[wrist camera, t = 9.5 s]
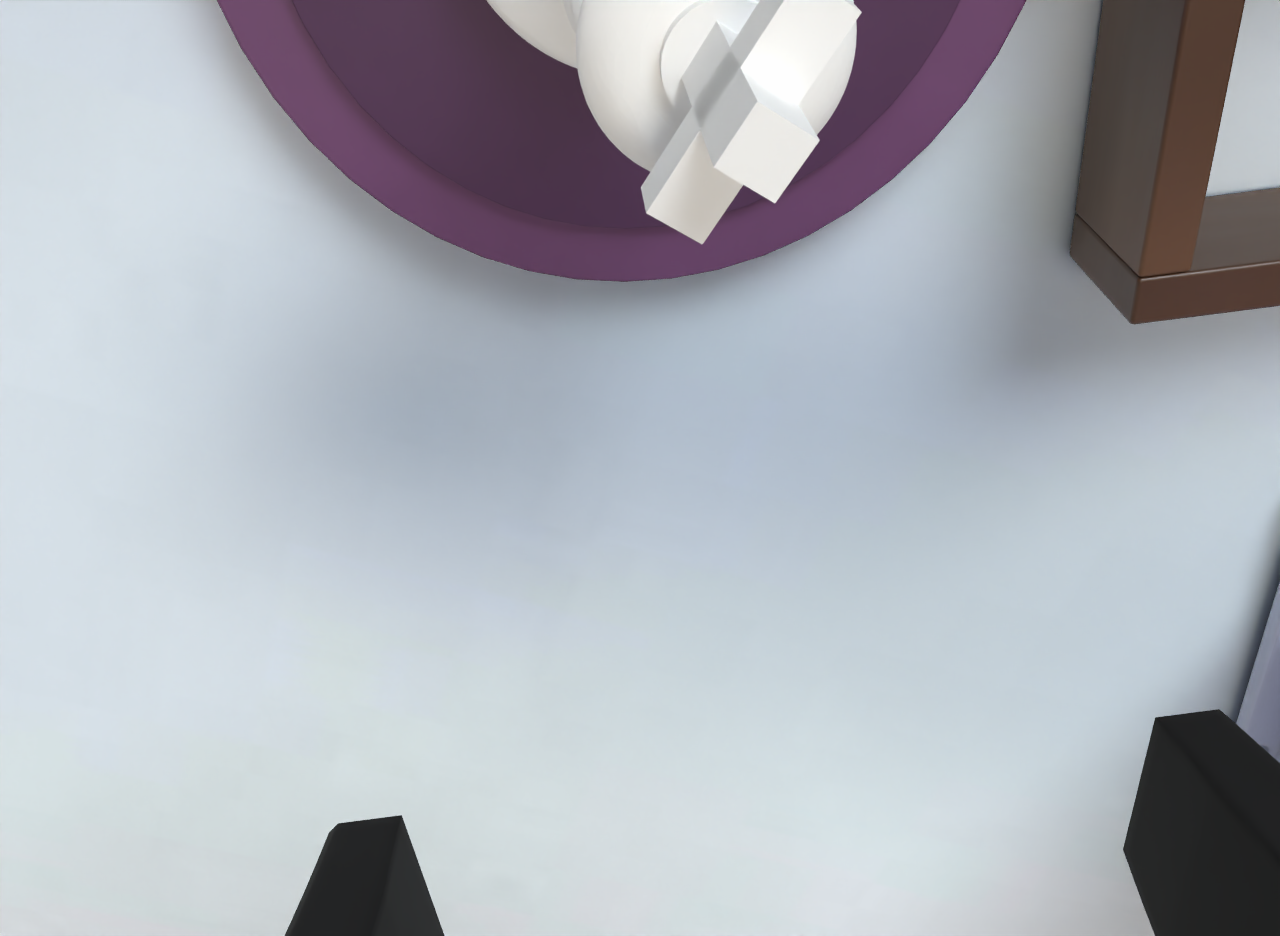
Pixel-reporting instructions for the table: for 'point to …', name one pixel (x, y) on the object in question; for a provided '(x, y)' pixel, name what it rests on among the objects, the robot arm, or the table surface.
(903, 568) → the table surface
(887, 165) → the lid
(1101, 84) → the rack
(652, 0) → the chess piece
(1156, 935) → the robot arm
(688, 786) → the table surface
